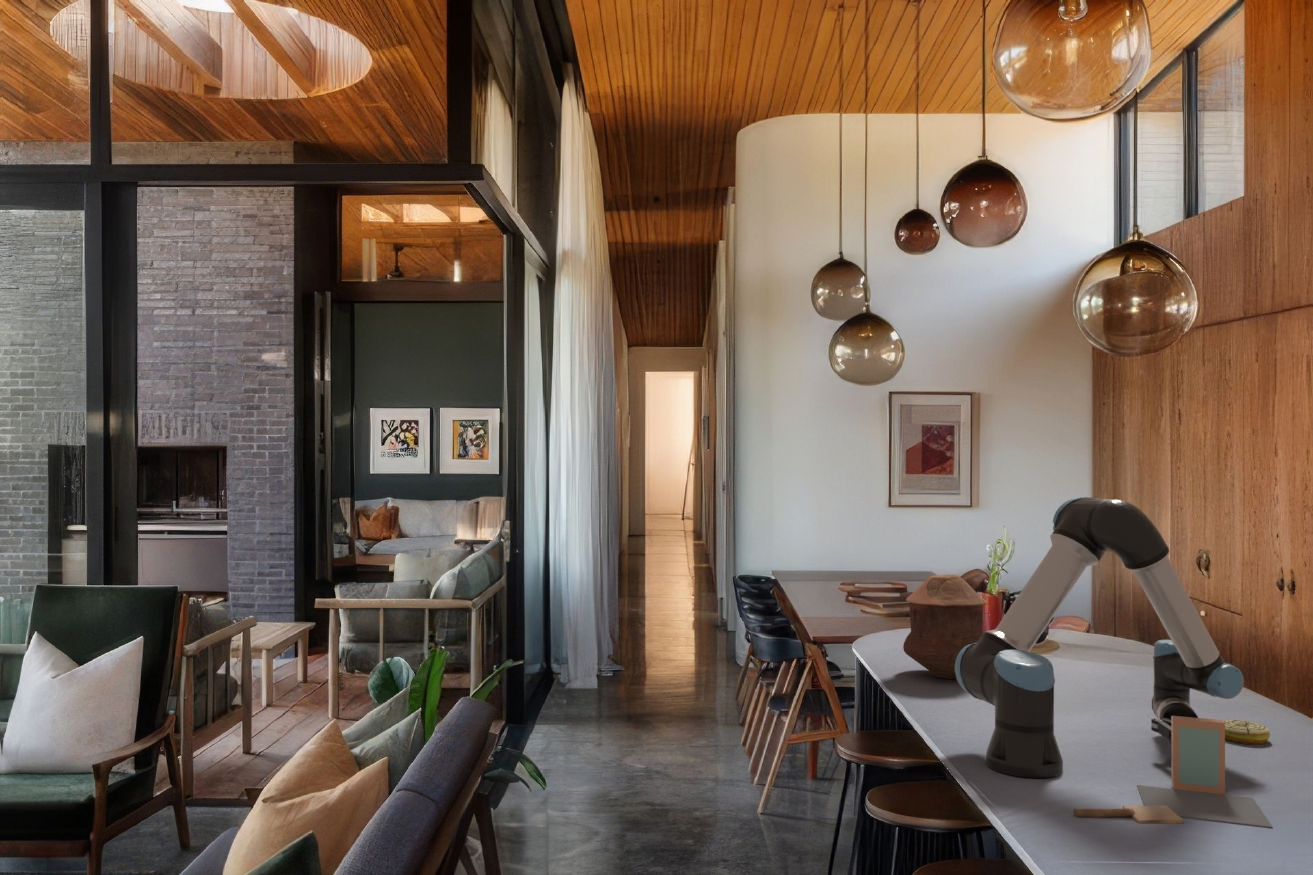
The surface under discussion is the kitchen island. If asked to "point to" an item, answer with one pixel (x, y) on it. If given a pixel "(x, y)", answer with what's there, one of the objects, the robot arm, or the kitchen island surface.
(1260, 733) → the decorated donut
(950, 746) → the kitchen island surface
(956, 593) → the pottery vessel
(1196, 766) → the tile
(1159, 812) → the wooden turner
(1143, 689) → the kitchen island surface
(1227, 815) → the mat
